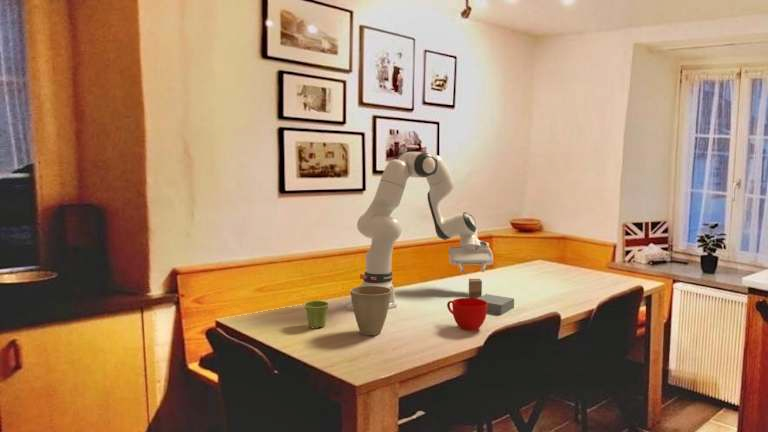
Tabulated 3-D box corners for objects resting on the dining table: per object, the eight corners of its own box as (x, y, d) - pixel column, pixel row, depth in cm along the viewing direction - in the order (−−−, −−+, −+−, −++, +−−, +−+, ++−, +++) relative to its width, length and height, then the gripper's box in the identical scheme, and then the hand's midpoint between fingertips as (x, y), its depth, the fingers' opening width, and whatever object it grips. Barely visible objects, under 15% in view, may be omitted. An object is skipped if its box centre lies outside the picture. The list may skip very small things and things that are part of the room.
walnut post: (481, 301, 252) (481, 281, 251) (470, 301, 252) (470, 281, 251) (479, 298, 257) (480, 278, 256) (468, 298, 257) (468, 278, 256)
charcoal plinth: (501, 314, 231) (501, 305, 230) (472, 309, 238) (472, 300, 238) (513, 307, 241) (514, 298, 241) (485, 302, 249) (486, 294, 248)
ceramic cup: (457, 319, 225) (458, 294, 224) (493, 328, 213) (494, 302, 212) (436, 325, 216) (437, 300, 215) (472, 336, 204) (473, 309, 203)
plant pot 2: (396, 337, 202) (396, 293, 201) (355, 340, 198) (355, 296, 196) (384, 324, 217) (384, 284, 215) (346, 328, 212) (346, 286, 211)
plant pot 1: (318, 331, 208) (318, 308, 207) (299, 327, 213) (298, 304, 212) (334, 325, 216) (334, 303, 215) (314, 321, 221) (314, 299, 220)
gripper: (448, 242, 267) (450, 267, 258) (492, 243, 267) (495, 267, 258) (447, 250, 272) (449, 275, 263) (490, 250, 272) (493, 275, 263)
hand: (472, 271), depth 261 cm, fingers open, 8 cm apart
